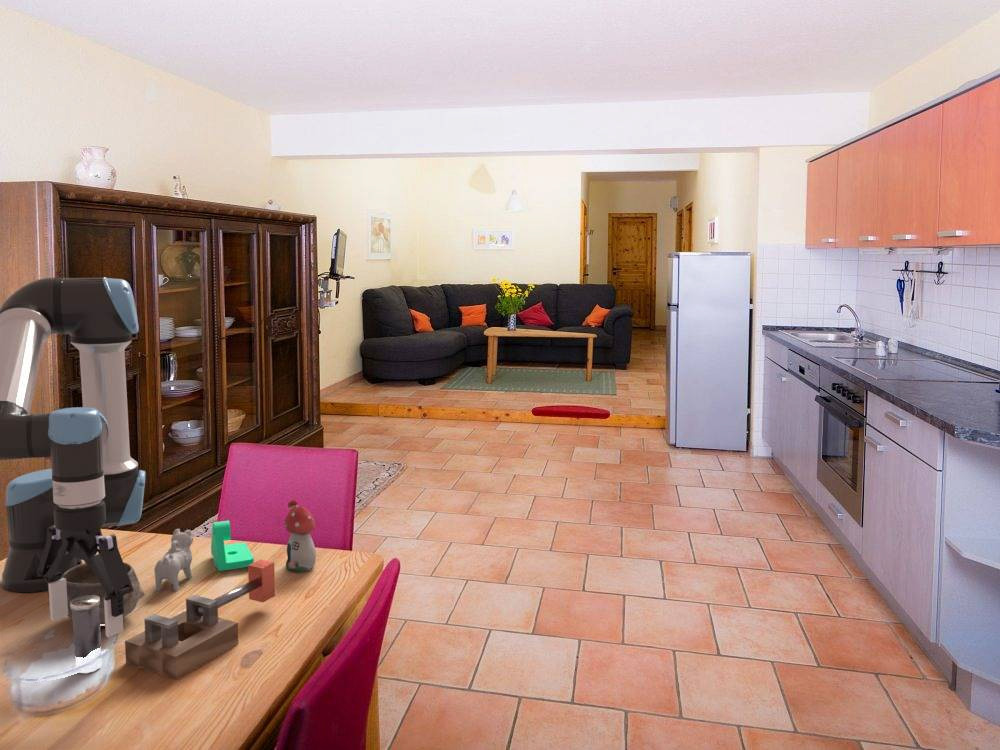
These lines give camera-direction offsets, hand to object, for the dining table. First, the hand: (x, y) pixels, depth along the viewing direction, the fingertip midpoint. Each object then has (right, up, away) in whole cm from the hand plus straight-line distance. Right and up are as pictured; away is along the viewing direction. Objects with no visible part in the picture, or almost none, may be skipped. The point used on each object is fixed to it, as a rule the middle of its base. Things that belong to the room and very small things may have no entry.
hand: (86, 625), depth 132 cm
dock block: (+13, -7, +7) cm, 17 cm away
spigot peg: (0, -8, +1) cm, 8 cm away
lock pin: (+19, -3, +18) cm, 26 cm away
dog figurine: (-1, -3, +38) cm, 38 cm away
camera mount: (+8, -2, +49) cm, 49 cm away
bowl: (-7, -5, +19) cm, 21 cm away
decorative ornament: (+24, -2, +47) cm, 53 cm away
